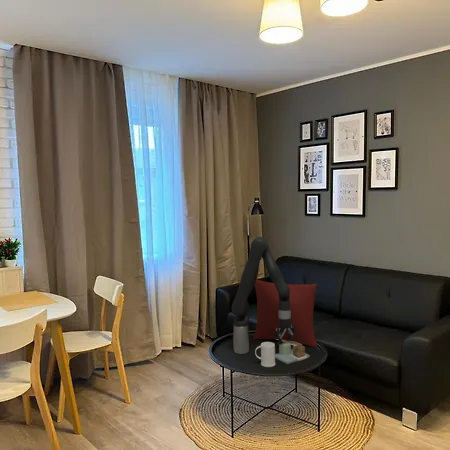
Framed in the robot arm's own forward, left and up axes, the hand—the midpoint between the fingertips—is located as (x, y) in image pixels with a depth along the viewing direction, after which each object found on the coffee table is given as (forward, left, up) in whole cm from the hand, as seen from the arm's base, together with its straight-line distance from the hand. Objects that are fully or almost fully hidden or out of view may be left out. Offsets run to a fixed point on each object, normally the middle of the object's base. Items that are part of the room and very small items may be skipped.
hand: (285, 342), depth 267 cm
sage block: (-1, 0, -7) cm, 7 cm away
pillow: (-17, +14, -8) cm, 23 cm away
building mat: (+3, +1, -8) cm, 9 cm away
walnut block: (+7, +4, -7) cm, 11 cm away
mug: (+2, -18, -8) cm, 20 cm away
